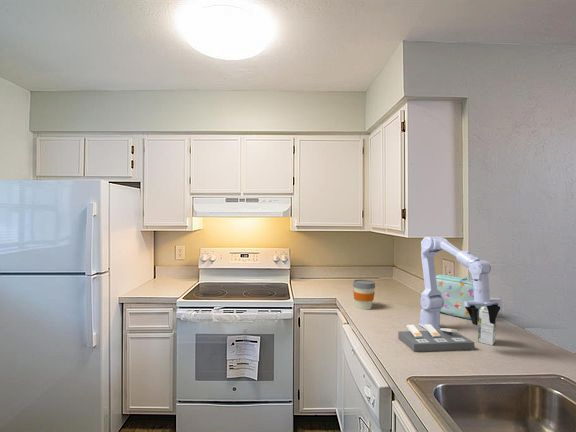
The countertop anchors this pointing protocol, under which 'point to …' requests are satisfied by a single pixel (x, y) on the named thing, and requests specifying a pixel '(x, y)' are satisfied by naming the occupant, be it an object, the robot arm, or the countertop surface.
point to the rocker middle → (431, 330)
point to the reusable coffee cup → (363, 293)
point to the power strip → (436, 341)
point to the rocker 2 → (449, 330)
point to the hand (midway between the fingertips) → (483, 323)
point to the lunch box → (455, 294)
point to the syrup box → (486, 328)
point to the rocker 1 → (414, 331)
